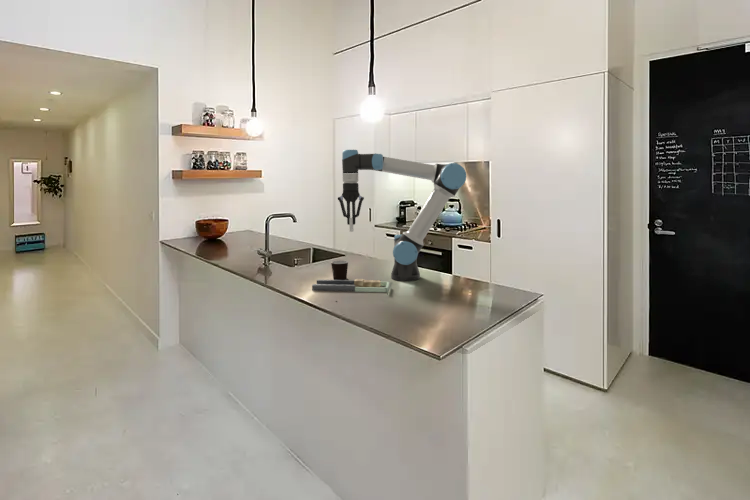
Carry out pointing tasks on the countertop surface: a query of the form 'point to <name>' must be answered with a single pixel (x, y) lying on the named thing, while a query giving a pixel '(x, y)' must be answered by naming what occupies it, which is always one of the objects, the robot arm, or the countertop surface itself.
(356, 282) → the tan cubic piece
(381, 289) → the tray
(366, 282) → the tan wooden block
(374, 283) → the beige cubic piece
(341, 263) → the coffee mug
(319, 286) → the slot channel
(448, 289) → the countertop surface
